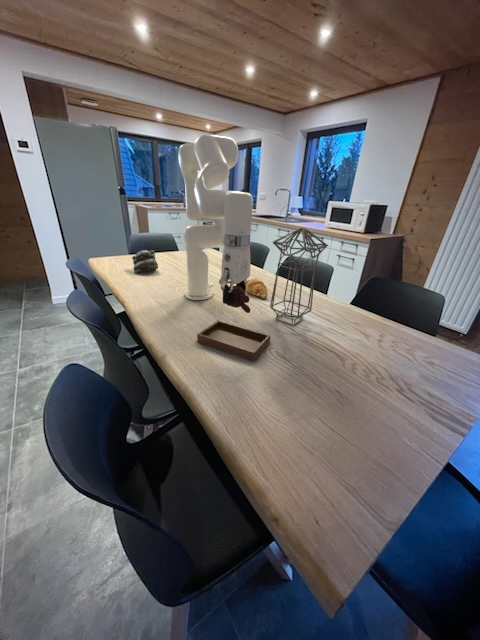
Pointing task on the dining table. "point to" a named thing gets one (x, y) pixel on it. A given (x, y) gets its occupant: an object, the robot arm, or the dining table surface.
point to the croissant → (256, 288)
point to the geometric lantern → (276, 243)
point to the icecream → (240, 299)
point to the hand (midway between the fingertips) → (234, 299)
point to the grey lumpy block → (144, 261)
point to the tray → (234, 339)
